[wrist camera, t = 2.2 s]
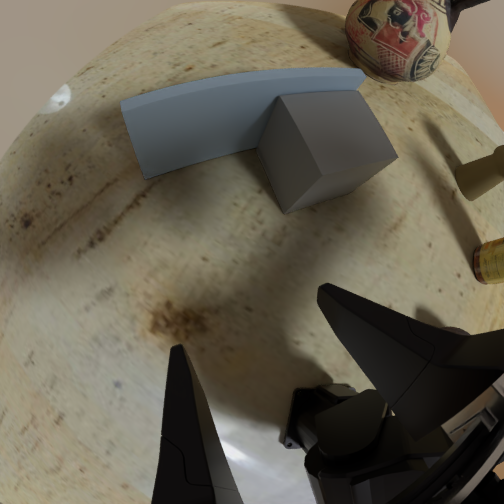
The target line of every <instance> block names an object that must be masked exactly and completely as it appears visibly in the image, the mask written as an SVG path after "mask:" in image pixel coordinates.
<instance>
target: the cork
mask: <svg viewBox="0 0 504 504" xmlns="http://www.w3.org/2000/svg"><path fill="white" fill-rule="evenodd" d="M455 176H456V181H457V184H458V186H459V188H460V191H461V192H462V194H463V195H464V196H465V198H466V199H468V200H469V201H473V200H475V199H476V198H478V197H480V196H481V195H483V194H484V193H486V192H487V191H489V190H490V189H492V188H493V187H495V186H496V185H497V184H499V183H500V182H502V181H503V180H504V145H501V146H499V147H497V148H496V149H495V150H494V153H493V154H492V155H489V156H486V157H483V158H480V159H478V160H475V161H472V162H469V163H466V164H464V165H461V166H458V167H457V168H456V170H455Z"/></svg>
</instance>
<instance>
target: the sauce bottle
mask: <svg viewBox="0 0 504 504" xmlns="http://www.w3.org/2000/svg"><path fill="white" fill-rule="evenodd" d="M474 270H475V275H476V277H477V279H478V280H479V282H481V283H482V284H497V283H503V282H504V237H503V238H500V239H497V240H493V241H490V242H486V243H484V244H483V245H481V246H479V247H477V249H476V250H475V252H474Z"/></svg>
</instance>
